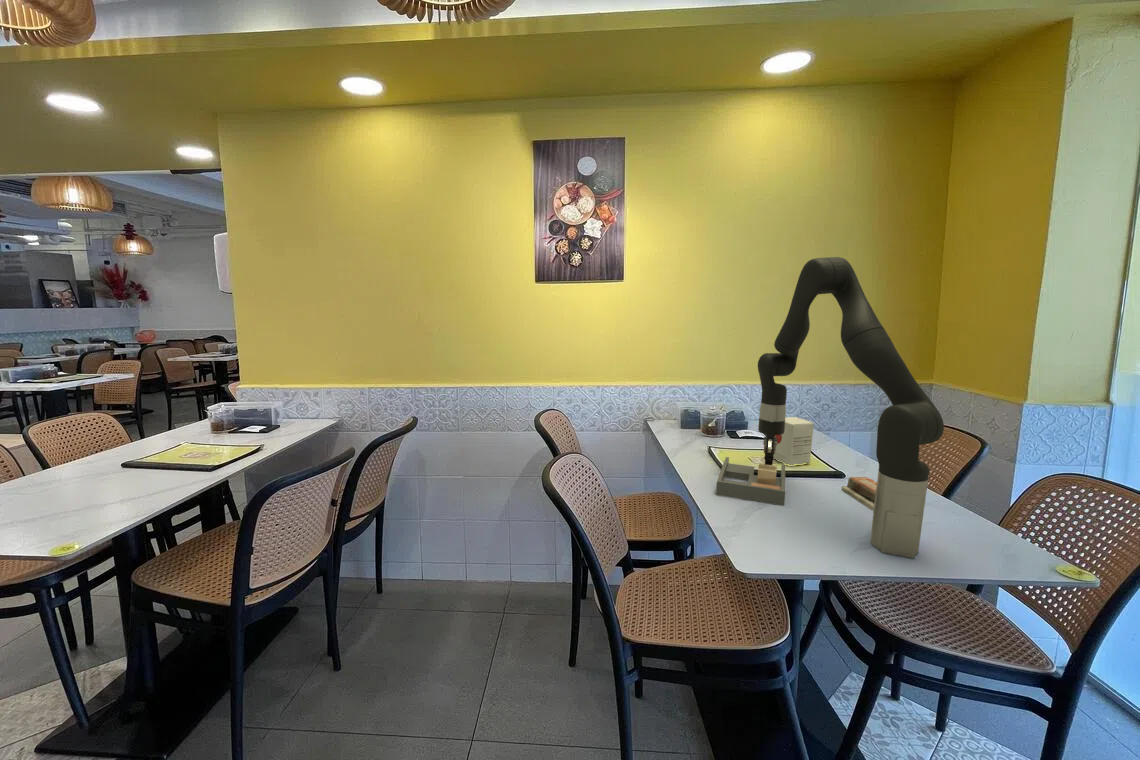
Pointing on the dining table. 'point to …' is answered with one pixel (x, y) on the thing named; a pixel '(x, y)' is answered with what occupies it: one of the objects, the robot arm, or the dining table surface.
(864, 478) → the packaged product
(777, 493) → the box
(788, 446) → the supplement box
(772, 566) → the dining table surface
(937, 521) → the dining table surface
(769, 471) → the block
